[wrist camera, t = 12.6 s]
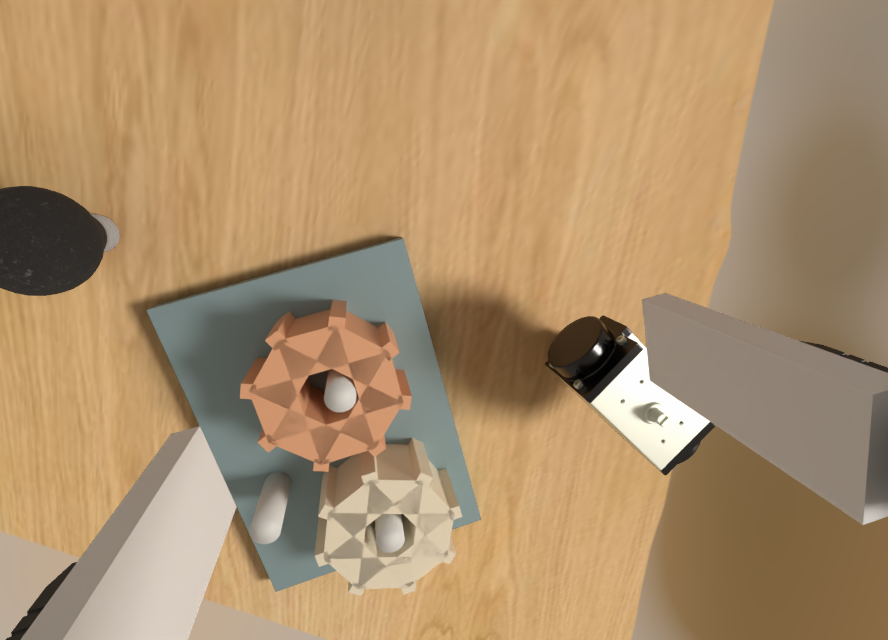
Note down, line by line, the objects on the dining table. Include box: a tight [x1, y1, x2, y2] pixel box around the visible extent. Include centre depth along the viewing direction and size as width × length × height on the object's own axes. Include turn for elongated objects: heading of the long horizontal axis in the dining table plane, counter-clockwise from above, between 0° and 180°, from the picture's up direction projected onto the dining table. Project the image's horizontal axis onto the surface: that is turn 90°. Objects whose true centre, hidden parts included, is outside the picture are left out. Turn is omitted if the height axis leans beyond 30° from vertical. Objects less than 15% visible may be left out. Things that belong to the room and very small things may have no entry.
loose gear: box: [240, 300, 412, 472], centre depth 32 cm, size 10×10×5 cm
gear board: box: [146, 237, 481, 596], centre depth 34 cm, size 25×18×7 cm
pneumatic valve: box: [545, 316, 715, 475], centre depth 34 cm, size 6×12×12 cm, turn 46°
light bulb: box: [0, 186, 120, 296], centre depth 26 cm, size 6×6×10 cm
